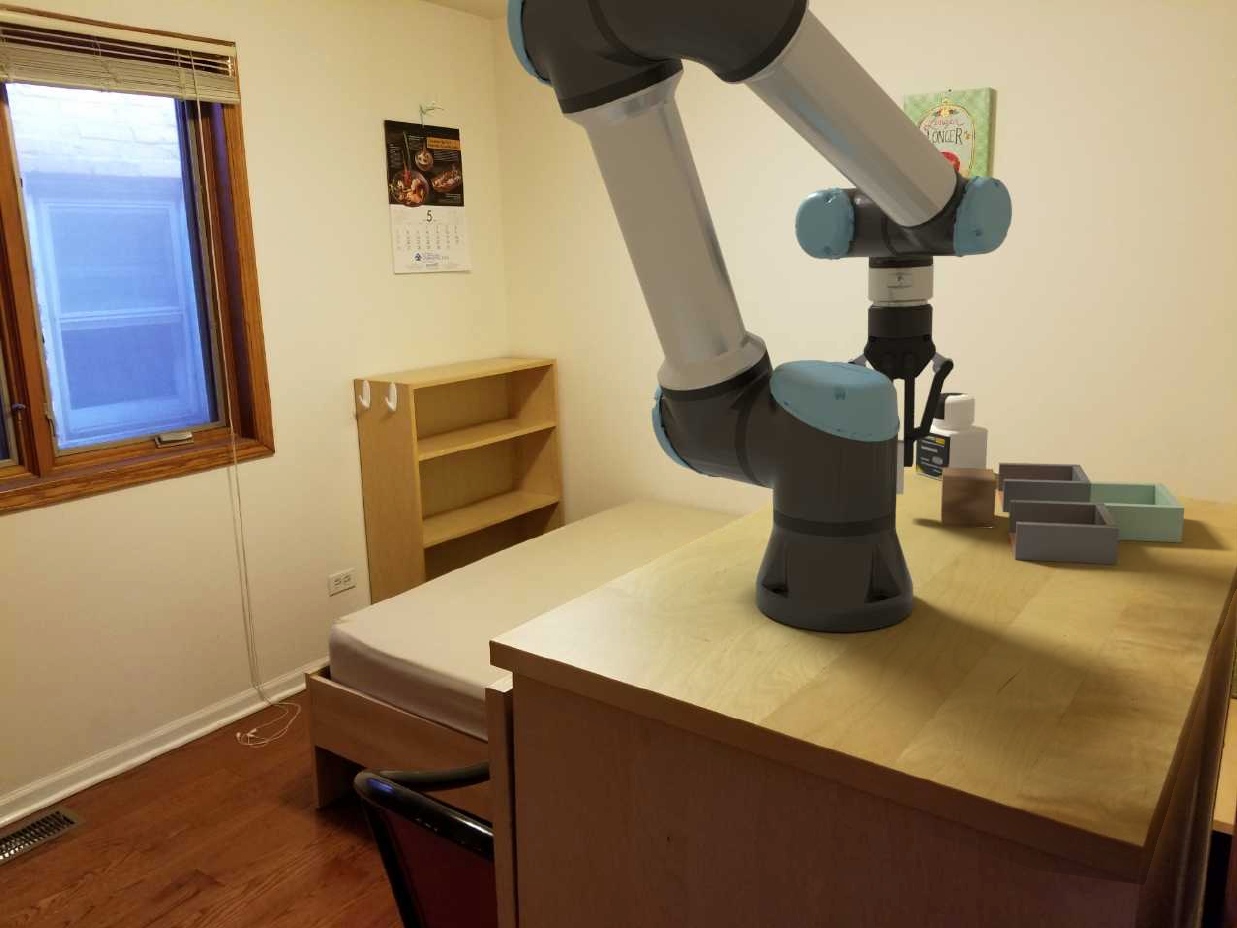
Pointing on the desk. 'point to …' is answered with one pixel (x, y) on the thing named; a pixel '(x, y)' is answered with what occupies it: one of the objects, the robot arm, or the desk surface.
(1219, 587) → the desk surface
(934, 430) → the medicine bottle
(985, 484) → the walnut block
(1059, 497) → the box
